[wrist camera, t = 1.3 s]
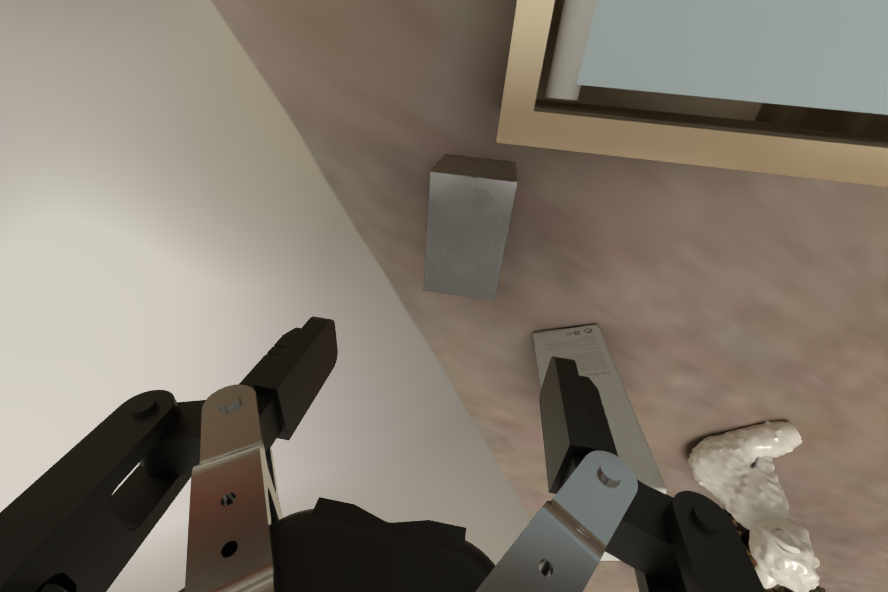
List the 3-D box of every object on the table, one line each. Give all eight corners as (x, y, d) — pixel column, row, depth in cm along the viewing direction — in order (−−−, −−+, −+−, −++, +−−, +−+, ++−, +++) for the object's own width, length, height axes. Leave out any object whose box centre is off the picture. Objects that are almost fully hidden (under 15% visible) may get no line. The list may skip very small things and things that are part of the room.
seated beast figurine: (764, 478, 37) (860, 627, 27) (673, 474, 39) (732, 612, 29) (794, 418, 32) (924, 569, 22) (689, 416, 34) (766, 556, 24)
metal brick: (445, 153, 25) (430, 171, 20) (515, 162, 25) (517, 182, 20) (437, 254, 29) (423, 290, 24) (496, 262, 29) (494, 301, 24)
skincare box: (531, 330, 32) (548, 492, 19) (602, 320, 30) (671, 490, 18) (544, 396, 36) (565, 565, 23) (608, 390, 34) (667, 569, 22)
